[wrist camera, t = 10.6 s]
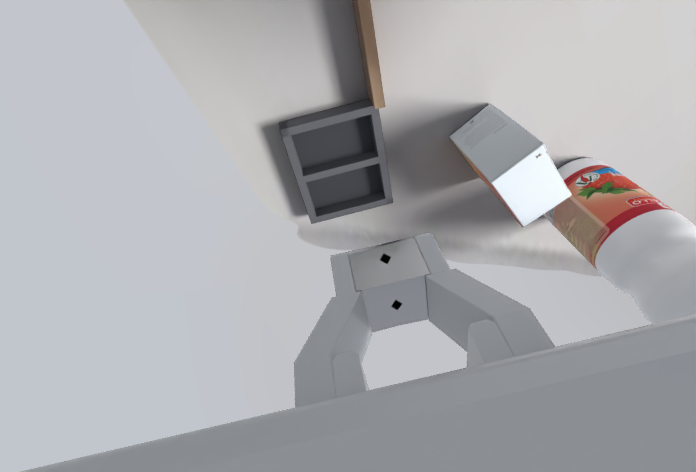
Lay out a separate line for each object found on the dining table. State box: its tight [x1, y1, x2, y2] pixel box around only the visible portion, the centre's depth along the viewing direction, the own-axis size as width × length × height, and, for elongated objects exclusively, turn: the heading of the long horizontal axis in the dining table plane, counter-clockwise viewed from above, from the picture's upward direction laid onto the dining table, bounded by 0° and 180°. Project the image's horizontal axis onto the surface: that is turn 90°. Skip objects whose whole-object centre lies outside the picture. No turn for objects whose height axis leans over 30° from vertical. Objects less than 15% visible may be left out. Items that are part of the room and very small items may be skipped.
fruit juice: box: [544, 158, 696, 324], centre depth 40 cm, size 9×9×28 cm
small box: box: [450, 104, 572, 227], centre depth 40 cm, size 8×6×10 cm
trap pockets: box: [279, 99, 393, 224], centre depth 42 cm, size 10×12×2 cm
